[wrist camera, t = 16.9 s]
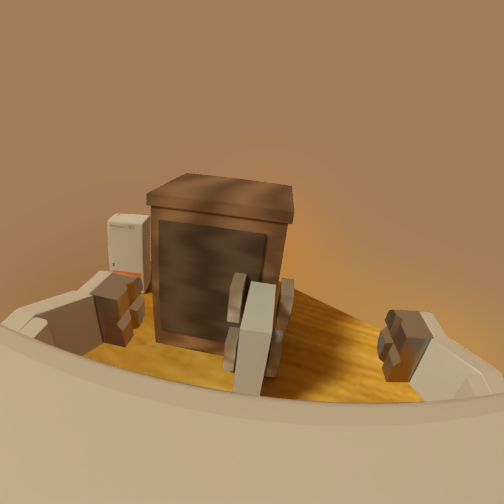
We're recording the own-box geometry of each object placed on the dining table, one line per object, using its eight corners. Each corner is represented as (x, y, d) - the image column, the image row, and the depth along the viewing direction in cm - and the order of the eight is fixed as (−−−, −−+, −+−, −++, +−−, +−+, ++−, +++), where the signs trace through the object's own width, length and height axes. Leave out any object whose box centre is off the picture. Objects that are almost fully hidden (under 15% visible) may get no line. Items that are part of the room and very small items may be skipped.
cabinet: (279, 307, 49) (300, 187, 42) (274, 383, 34) (308, 223, 26) (182, 291, 50) (186, 173, 43) (143, 358, 35) (132, 201, 27)
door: (268, 371, 36) (286, 286, 31) (263, 423, 28) (284, 335, 24) (239, 367, 36) (251, 281, 31) (229, 418, 28) (239, 328, 24)
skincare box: (111, 290, 47) (105, 220, 42) (119, 278, 51) (115, 212, 46) (145, 295, 48) (143, 223, 43) (152, 282, 52) (151, 214, 47)
